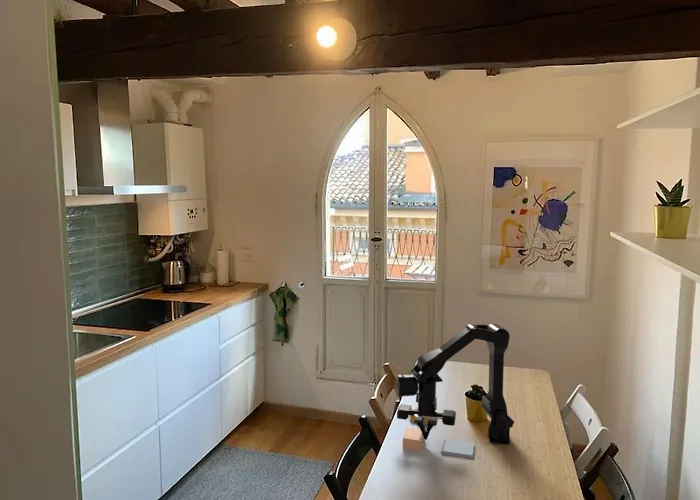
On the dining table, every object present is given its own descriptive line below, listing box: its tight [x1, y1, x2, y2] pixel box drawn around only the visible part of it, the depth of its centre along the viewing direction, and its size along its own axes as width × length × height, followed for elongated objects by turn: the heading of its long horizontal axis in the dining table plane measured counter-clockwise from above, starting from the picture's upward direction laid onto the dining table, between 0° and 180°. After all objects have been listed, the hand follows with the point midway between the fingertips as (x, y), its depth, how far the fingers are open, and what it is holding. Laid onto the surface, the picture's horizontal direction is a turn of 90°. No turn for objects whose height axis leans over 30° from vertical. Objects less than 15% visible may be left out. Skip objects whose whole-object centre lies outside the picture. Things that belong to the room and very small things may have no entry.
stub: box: [402, 427, 425, 452], centre depth 180 cm, size 6×8×4 cm
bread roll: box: [409, 407, 429, 426], centre depth 198 cm, size 8×9×4 cm
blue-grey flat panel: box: [440, 438, 475, 459], centre depth 177 cm, size 10×8×1 cm
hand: (425, 439), depth 179 cm, fingers closed
